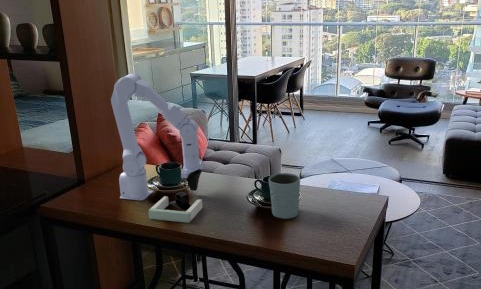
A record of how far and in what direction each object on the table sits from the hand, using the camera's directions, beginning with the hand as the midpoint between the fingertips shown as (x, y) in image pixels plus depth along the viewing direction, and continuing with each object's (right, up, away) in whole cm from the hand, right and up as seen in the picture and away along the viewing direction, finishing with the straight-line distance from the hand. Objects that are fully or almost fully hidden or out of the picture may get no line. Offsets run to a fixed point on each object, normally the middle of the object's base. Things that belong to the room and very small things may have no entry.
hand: (193, 189), depth 168 cm
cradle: (-4, -6, -13) cm, 15 cm away
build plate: (-3, -5, -7) cm, 9 cm away
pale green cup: (+31, -6, -16) cm, 36 cm away
